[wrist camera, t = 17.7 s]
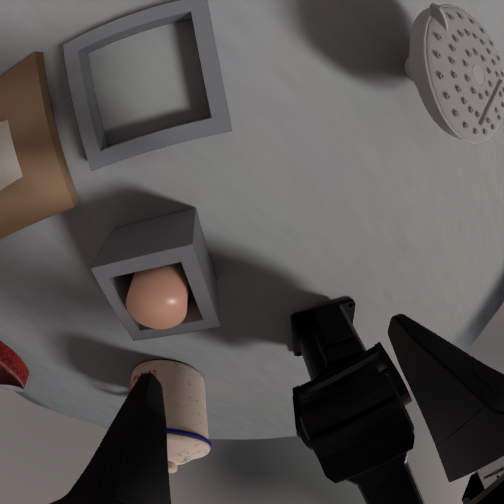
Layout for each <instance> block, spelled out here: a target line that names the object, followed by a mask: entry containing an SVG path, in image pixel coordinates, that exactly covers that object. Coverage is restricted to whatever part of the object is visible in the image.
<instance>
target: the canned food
mask: <svg viewBox="0 0 504 504" xmlns="http://www.w3.org/2000/svg"><path fill="white" fill-rule="evenodd" d="M28 375H29V371H28V368H27V366H26V365H25V363H24V362H23V361H22V359H21V358H20V357H19V356H18V355H17V354H16V353H15V352H14V351H13V350H12V349H11V348H9V347H8V346H7V345H6V344H4V343H3V342H1V341H0V388H4V389H7V390H12V391H16V392H22V391H24V387H25V384H26V381H27V378H28Z"/></svg>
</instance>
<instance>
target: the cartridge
mask: <svg viewBox="0 0 504 504" xmlns="http://www.w3.org/2000/svg"><path fill="white" fill-rule="evenodd" d="M22 176H23V175H22V172H21V169H20V166H19V163H18V159H17V156H16V152H15V149H14V145H13V141H12V137H11V133H10V129H9V124H8V120H5V121H2V122H0V191H1V190H2V189H4V188H5V187H7V186H8V185H10V184H11V183H13V182H14V181H16V180H18V179H19V178H21V177H22Z"/></svg>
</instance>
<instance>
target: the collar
mask: <svg viewBox="0 0 504 504" xmlns="http://www.w3.org/2000/svg"><path fill="white" fill-rule="evenodd" d="M191 18H192V19H193V25H194V30H195V36H196V41H197V46H198V51H199V57H200V62H201V67H202V72H203V77H204V82H205V87H206V92H207V97H208V102H209V107H210V112H211V117H208V118H203V119H199V120H195V121H191V122H187V123H183V124H179V125H175V126H171V127H168V128H164V129H160V130H157V131H154V132H150V133H147V134H144V135H141V136H138V137H134V138H131V139H128V140H126V141H123V142H120V143H117V144H114V145H111V146H109V147H108V145H107V142H106V138H105V134H104V130H103V126H102V122H101V118H100V114H99V110H98V106H97V101H96V97H95V92H94V87H93V82H92V77H91V72H90V66H89V60H88V53H89V52H91V51H93V50H96V49H98V48H100V47H103V46H105V45H107V44H110V43H112V42H115V41H117V40H120V39H122V38H125V37H128V36H131V35H134V34H137V33H139V32H143V31H146V30H149V29H152V28H155V27H159V26H162V25H166V24H170V23H174V22H178V21H182V20H186V19H191ZM63 49H64V57H65V64H66V70H67V76H68V82H69V87H70V93H71V97H72V102H73V107H74V111H75V115H76V120H77V124H78V127H79V131H80V135H81V139H82V142H83V146H84V149H85V153H86V156H87V159H88V163H89V166H90V169H91V171H93V170H95V169H98V168H101V167H103V166H106V165H109V164H112V163H115V162H118V161H120V160H123V159H126V158H129V157H132V156H136V155H139V154H142V153H145V152H149V151H152V150H155V149H159V148H162V147H166V146H169V145H173V144H177V143H181V142H185V141H189V140H193V139H197V138H201V137H206V136H210V135H215V134H219V133H224V132H229V131H232V127H231V122H230V117H229V111H228V106H227V101H226V96H225V90H224V85H223V80H222V75H221V69H220V64H219V59H218V54H217V48H216V43H215V38H214V33H213V27H212V22H211V17H210V12H209V7H208V1H207V0H179V1H175V2H171V3H167V4H163V5H159V6H156V7H152V8H149V9H146V10H143V11H140V12H137V13H134V14H131V15H128V16H125V17H122V18H120V19H117V20H115V21H112V22H110V23H107V24H105V25H102V26H100V27H98V28H96V29H93V30H91V31H89V32H87V33H85V34H83V35H81V36H79V37H77V38H75V39H73V40H71V41H69V42H67V43H65V44H64V45H63Z"/></svg>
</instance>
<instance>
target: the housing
mask: <svg viewBox="0 0 504 504" xmlns="http://www.w3.org/2000/svg"><path fill="white" fill-rule="evenodd" d="M178 262H182V265H183V268H184V271H185V273H186V276H187V279H188V298H187V313H186V316H185V318H184V320H183V321H182V322H181V323H180V324H178V325H177V326H174V327H172V328H168V329H154V328H149V327H146V326H144V325H142V324H140V323H138V322H137V321H136V320H135V319H134V318H133V317H132V316H131V315H130V314H129V312H128V310H127V307H126V298H127V295H128V292H129V288H130V285H131V282H132V279H133V276H134V273H135V272H138V271H142V270H147V269H151V268H156V267H160V266H165V265H169V264H174V263H178ZM91 270H92V272H93V274H94V276H95V278H96V280H97V281H98V283H99V285H100V287H101V289H102V290H103V292H104V294H105V296H106V297H107V299H108V301H109V303H110V304H111V306H112V308H113V309H114V311H115V313H116V314H117V316H118V317H119V319H120V321H121V322H122V324H123V325H124V327H125V328H126V330H127V331H128V333H129V335H130V336H131V337H132V339H133V340H134V341H136V340H143V339H150V338H157V337H164V336H170V335H176V334H182V333H188V332H194V331H199V330H205V329H210V328H215V327H220V316H219V304H218V291H217V280H216V277H215V273H214V270H213V267H212V263H211V260H210V256H209V253H208V250H207V246H206V243H205V239H204V236H203V232H202V228H201V225H200V221H199V218H198V214H197V210H196V208H192V209H188V210H184V211H180V212H176V213H172V214H168V215H164V216H160V217H156V218H152V219H148V220H144V221H141V222H137V223H133V224H130V225H126V226H123V227H119V228H116V229H113V230H112V232H111V234H110V235H109V237H108V239H107V240H106V242H105V244H104V245H103V247H102V249H101V251H100V252H99V254H98V256H97V258H96V259H95V261H94V263H93V265H92V267H91Z"/></svg>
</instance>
